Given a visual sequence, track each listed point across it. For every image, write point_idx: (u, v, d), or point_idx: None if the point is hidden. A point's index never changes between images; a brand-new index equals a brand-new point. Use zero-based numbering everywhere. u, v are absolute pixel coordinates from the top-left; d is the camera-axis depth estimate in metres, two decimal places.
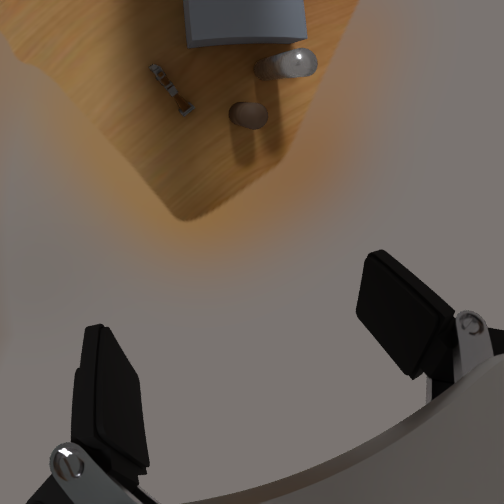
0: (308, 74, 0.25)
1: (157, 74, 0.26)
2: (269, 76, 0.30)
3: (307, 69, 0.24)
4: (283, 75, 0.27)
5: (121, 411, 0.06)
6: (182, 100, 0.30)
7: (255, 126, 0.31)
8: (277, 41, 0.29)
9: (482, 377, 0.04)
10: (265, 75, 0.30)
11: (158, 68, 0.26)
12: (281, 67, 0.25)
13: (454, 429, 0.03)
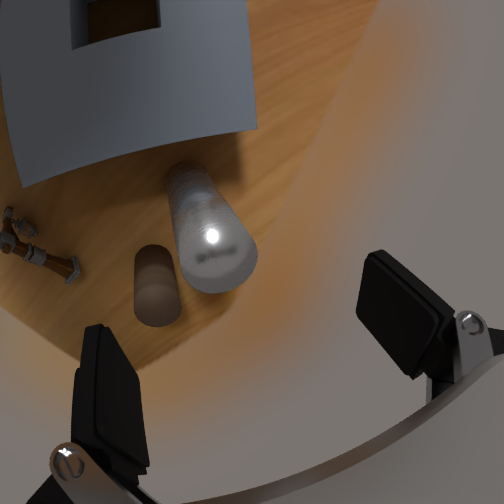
0: (234, 285, 0.12)
1: (2, 249, 0.14)
2: None
3: (230, 276, 0.12)
4: None
5: (121, 411, 0.06)
6: (57, 266, 0.18)
7: (161, 323, 0.19)
8: None
9: (482, 377, 0.04)
10: None
11: (0, 240, 0.13)
12: None
13: (453, 429, 0.03)
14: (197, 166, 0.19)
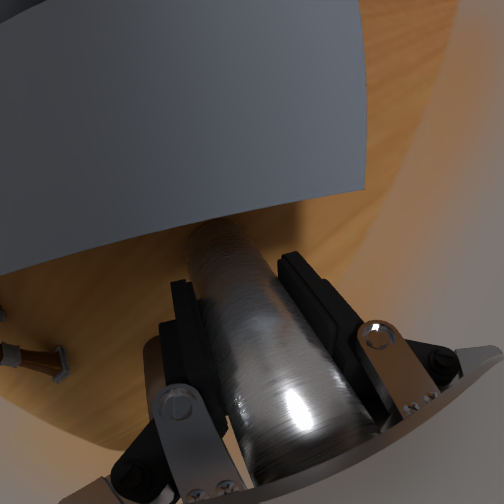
0: None
1: None
2: None
3: None
4: None
5: None
6: (39, 366, 0.11)
7: None
8: None
9: (482, 377, 0.04)
10: None
11: None
12: None
13: (453, 429, 0.03)
14: (239, 233, 0.12)
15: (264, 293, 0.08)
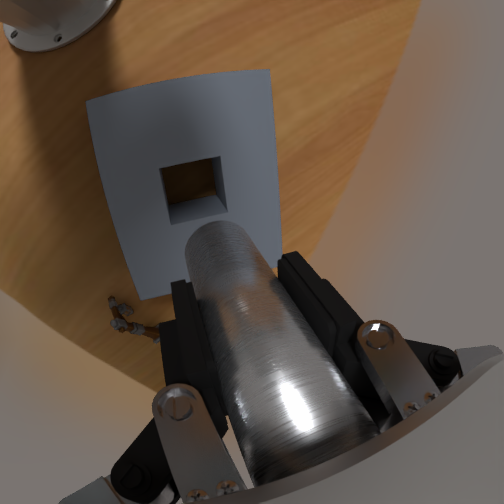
0: None
1: (118, 329, 0.27)
2: None
3: None
4: None
5: None
6: (151, 333, 0.31)
7: None
8: None
9: (482, 377, 0.04)
10: None
11: (117, 325, 0.27)
12: None
13: (453, 429, 0.03)
14: (239, 234, 0.12)
15: (264, 294, 0.08)
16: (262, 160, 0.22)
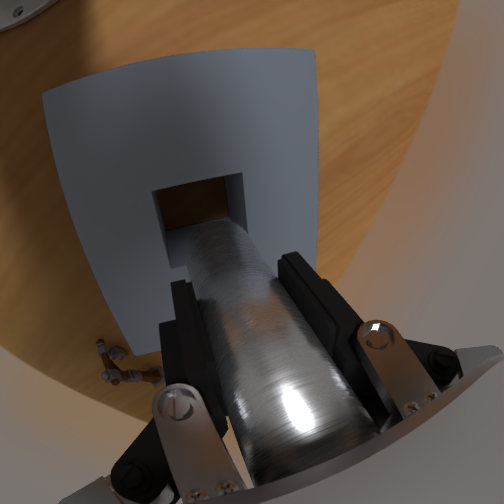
0: None
1: (111, 382, 0.21)
2: None
3: None
4: None
5: None
6: (150, 379, 0.25)
7: None
8: None
9: (482, 377, 0.04)
10: None
11: (110, 378, 0.20)
12: None
13: (453, 429, 0.03)
14: (239, 234, 0.12)
15: (265, 294, 0.08)
16: (300, 178, 0.16)
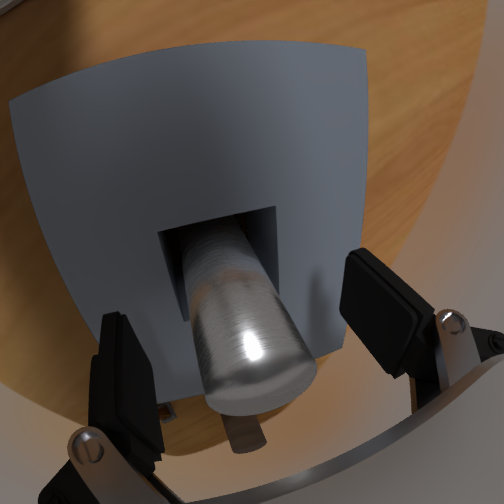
0: (279, 405, 0.08)
1: None
2: None
3: (275, 398, 0.08)
4: None
5: (139, 396, 0.07)
6: None
7: (250, 451, 0.22)
8: None
9: (482, 377, 0.04)
10: None
11: None
12: None
13: (453, 429, 0.03)
14: None
15: (228, 240, 0.11)
16: (343, 210, 0.13)
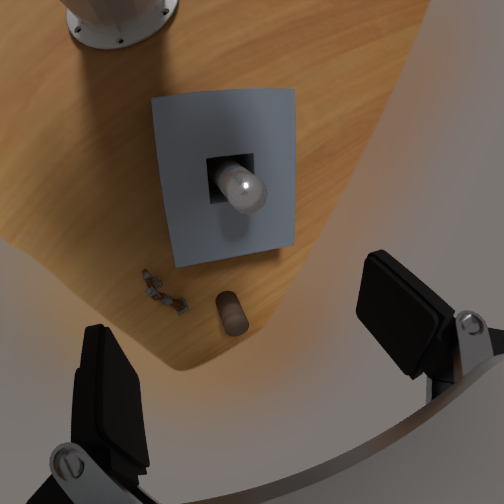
0: (255, 210, 0.24)
1: (152, 297, 0.33)
2: None
3: (253, 204, 0.24)
4: None
5: (121, 411, 0.06)
6: (176, 305, 0.37)
7: (237, 334, 0.37)
8: None
9: (482, 377, 0.04)
10: None
11: (152, 293, 0.32)
12: (225, 195, 0.25)
13: (453, 429, 0.03)
14: (229, 157, 0.31)
15: (235, 163, 0.27)
16: (284, 158, 0.29)
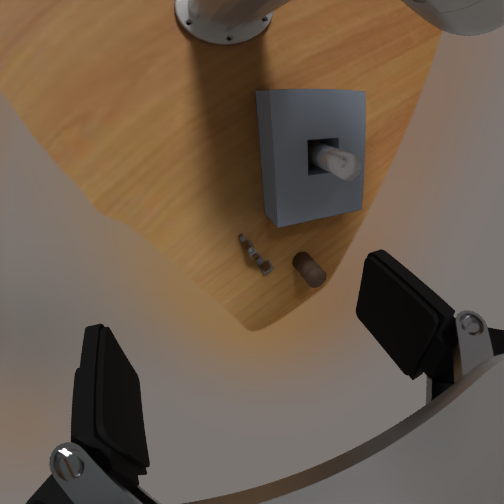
0: (352, 178, 0.31)
1: (252, 256, 0.41)
2: (312, 163, 0.37)
3: (352, 174, 0.31)
4: (328, 171, 0.34)
5: (121, 411, 0.06)
6: (265, 265, 0.45)
7: (316, 285, 0.45)
8: None
9: (482, 377, 0.04)
10: (308, 161, 0.37)
11: (253, 252, 0.40)
12: (328, 167, 0.32)
13: (453, 429, 0.03)
14: None
15: (327, 145, 0.34)
16: (358, 142, 0.36)
